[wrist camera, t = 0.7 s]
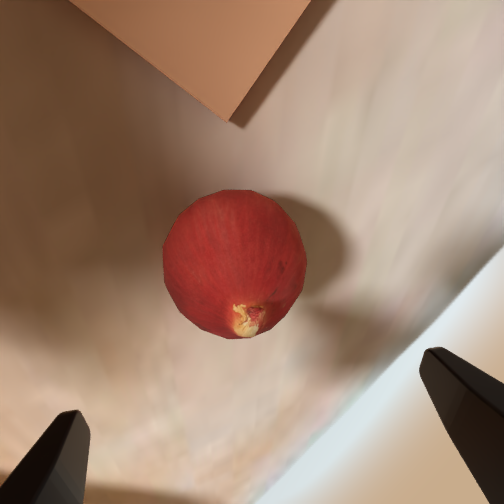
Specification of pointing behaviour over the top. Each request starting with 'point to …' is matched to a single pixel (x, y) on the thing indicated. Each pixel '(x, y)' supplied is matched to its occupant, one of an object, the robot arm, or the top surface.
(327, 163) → the top surface
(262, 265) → the onion
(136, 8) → the letter tile
